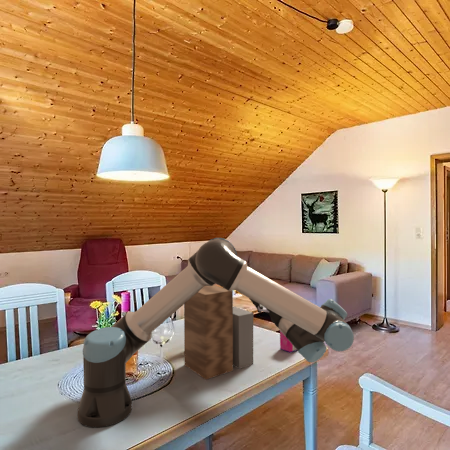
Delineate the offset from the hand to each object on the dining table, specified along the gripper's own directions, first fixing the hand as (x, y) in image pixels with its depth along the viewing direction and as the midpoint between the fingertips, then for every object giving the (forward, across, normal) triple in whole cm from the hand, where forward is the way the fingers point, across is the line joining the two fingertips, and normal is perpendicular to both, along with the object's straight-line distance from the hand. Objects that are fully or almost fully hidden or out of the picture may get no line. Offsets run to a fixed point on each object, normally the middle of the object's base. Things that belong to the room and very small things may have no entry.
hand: (247, 277), depth 134 cm
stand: (-10, -13, -34) cm, 37 cm away
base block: (-11, 0, -33) cm, 35 cm away
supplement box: (-15, +25, -31) cm, 43 cm away
